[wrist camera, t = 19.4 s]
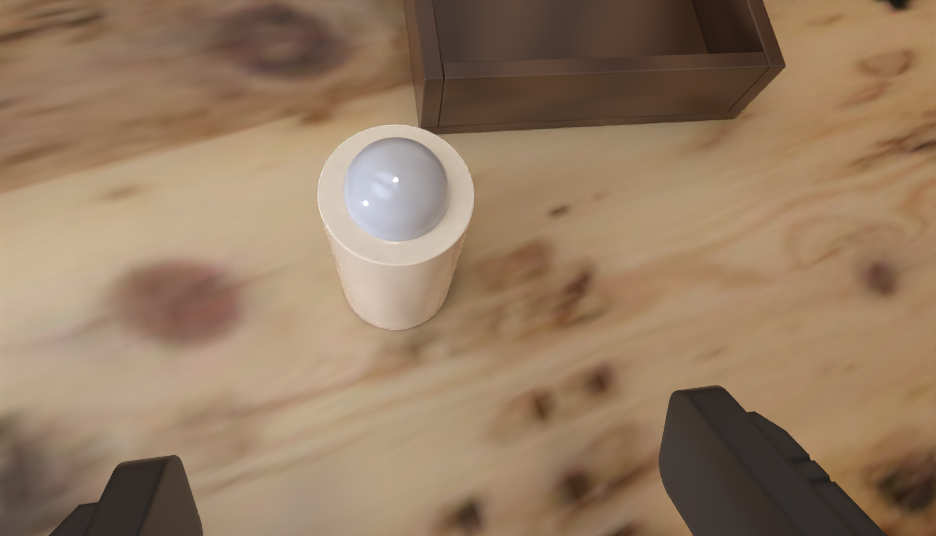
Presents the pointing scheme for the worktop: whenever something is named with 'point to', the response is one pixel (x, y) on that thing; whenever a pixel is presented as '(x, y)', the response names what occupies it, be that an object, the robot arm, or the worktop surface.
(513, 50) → the tray
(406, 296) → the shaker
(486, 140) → the worktop surface
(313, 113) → the worktop surface
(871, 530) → the robot arm
